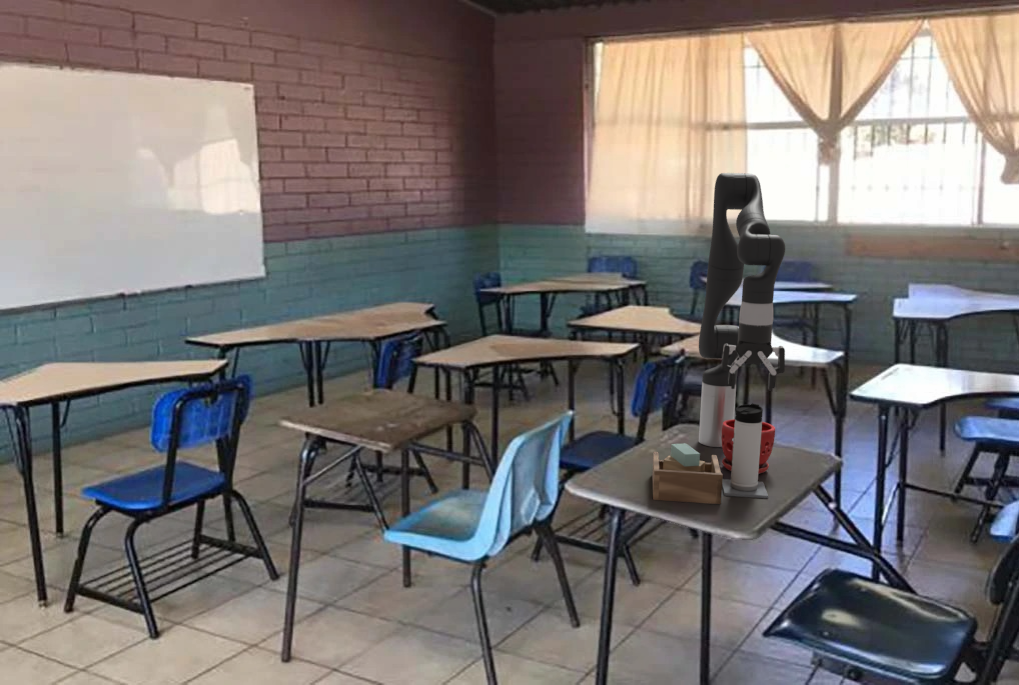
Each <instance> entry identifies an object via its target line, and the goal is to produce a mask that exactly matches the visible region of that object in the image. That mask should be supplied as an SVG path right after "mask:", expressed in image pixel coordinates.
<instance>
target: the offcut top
mask: <svg viewBox="0 0 1019 685" xmlns="http://www.w3.org/2000/svg"><path fill="white" fill-rule="evenodd" d="M670 447H671V448H670V456H672V457H673V458H674V459H675V460H677V461H678V462H679V463H681V464H682V465H683V466H684V467H685V466H699V462H700V461H701V460H700V458H701V457H700V456H701V453H700V452H698V451H697V450H696V449H694V448H693V447H691V445H689V444H687V443H685V442H683V443H671V445H670Z"/></svg>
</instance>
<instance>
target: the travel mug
mask: <svg viewBox="0 0 1019 685" xmlns="http://www.w3.org/2000/svg"><path fill="white" fill-rule="evenodd" d="M763 410H764V409H763V408H762V406H760V404H758V403H751V404H747V403H746V404H740V405H738V406H737V407H736V406H735V415H734V419H735V426H734V438H733V456H732V470H731V471H730V480H731V487H732V488H734V489H736V490H739V491H754V490H756V489H757V485H758V482H759V481H758V480H759V474H758V471H759V457H760V444H761V430H762V422H763V414H764V413H763Z"/></svg>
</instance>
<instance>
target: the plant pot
mask: <svg viewBox="0 0 1019 685" xmlns="http://www.w3.org/2000/svg"><path fill="white" fill-rule="evenodd" d="M734 426H735V418H734V419H732V420H726V421H724V422H723V424H722V436H721V440H722V447H721V449H722V452H723V454H724V458H723V459H722V460H721V464H722V465H723V467H724V468H725V469H726V470H728V471H729V472H731V470H732V456H733V441H734ZM775 437H776V427H775V426H774V425H773V424H771V423H768V422H765V421H762V430H761V444H760V457H759V471H758V475H759V474H762V473H765V472H766V471H768V470H769V466H770V465H769V463H768V460H769V458H770V457H771V454H772V452H773V448H774V444H775V443H774V442H775ZM732 439H733V441H732Z"/></svg>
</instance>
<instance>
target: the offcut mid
mask: <svg viewBox="0 0 1019 685" xmlns="http://www.w3.org/2000/svg"><path fill="white" fill-rule="evenodd" d="M663 460H664V461H663V470H676V471H692V472H705V463H706V461H703V460H700V462H699V466H685V467H684V466H683V465H682V464H681V463H679V462H678V461H677V460H675V459H674V458H673V457H672V456H671V455H668V456H666V457H665V458H664V459H663Z"/></svg>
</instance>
